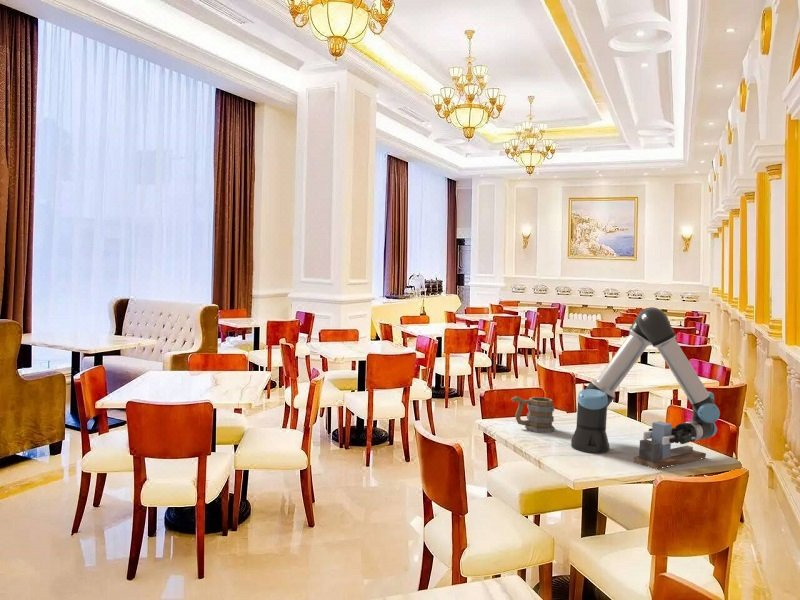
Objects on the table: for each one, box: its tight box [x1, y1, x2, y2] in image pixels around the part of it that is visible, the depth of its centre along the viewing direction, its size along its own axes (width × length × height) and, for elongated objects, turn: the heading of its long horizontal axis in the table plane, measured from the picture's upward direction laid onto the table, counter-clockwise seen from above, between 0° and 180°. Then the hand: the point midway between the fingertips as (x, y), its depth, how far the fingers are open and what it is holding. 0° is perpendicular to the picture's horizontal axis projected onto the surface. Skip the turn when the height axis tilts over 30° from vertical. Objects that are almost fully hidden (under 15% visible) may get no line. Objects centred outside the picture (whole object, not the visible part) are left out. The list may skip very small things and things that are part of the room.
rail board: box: [633, 439, 707, 470], centre depth 241 cm, size 10×32×9 cm, turn 123°
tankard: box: [510, 395, 556, 434], centre depth 282 cm, size 20×13×15 cm, turn 89°
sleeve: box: [650, 421, 673, 459], centre depth 237 cm, size 5×5×13 cm
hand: (653, 438), depth 234 cm, fingers open, 7 cm apart
